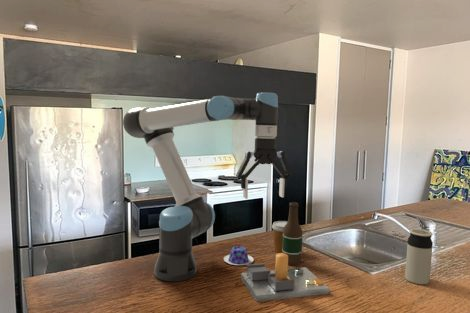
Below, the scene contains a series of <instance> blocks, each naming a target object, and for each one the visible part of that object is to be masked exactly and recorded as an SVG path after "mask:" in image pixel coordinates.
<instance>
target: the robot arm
mask: <svg viewBox="0 0 470 313" xmlns="http://www.w3.org/2000/svg"><path fill="white" fill-rule="evenodd" d="M278 98H279V96H278V95H277V93H274V92H257V93H256V97H255V98H242V97H241V98H239V97H233V96H232V97H231V96H226V95H216V96H215V95H214V96H212V98H206V99H201V100H195V101H191V102H189V101H188V102H184V103H183V102H182V103H179V104H178V103H177V104H173V105H166V106H162V107H153V108H150V107H148V106H144V107H134V108H131V109H129V110H128V111H127V112H126V113H125V114H124V115H123V119H122V125H123V128H124V130H125V132H126V133H127V134H128V135H129V136H131V137H133V138H136V139H144V142H145V144H146V146H147V147H150V148H151V149H152V150H153V152H154V154H155V157H156V159H157V161H158V163H159V166H160V168H161V170H162V173H163V175H164V178H165V180H166V182H167V185H168V186H169V189H170V192H171V194H172V196H173V198H174V200H175V205H174V206H170V207H167V208H165V209H163V210H162V211H161V212H160V214H159V220H158V227H159V228H158V229H159V231H158V232H159V236H158V237H159V238H158V239H159V242H158V243H159V244H158V246H159V248H158V249H159V252H158V255H157V259H156V261H155V265H154V268H153V274H154V275H153V276H154V277H155V278H157V279H158V280H161V281H165V282H182V281H186V280H189V279H192V278H194V277H195V276H196V274H197V264H196V260H195V258H194V254H193V239H195V238H196V237H199V236H200V235H201V234H204V233H206V232H207V231H209V230H210V229H211V228H212V227H213V225H214V223H215V219H216V214H215V213H216V212H215V210H214V207H213V206H212V204H210V203H208V202H206V201H205V200H204V198H203V196H202V195H201V194H198V193H197V191H196V190H195V188H194V186H193V183H192V180H191V178H190V175H189V173H188V171H187V169H186V167H185V164H184V162H183V160H182V158H181V155H180V154H179V151H178V149H177V146H176V145H175V142H174V140H173V139H174V137H175V133H174V129H175V128H177V127H183V126H190V125H195V124H196V125H197V124H203V123H211V122H217V121H219V122H220V121H225V120H230V121H231V120H232V121H233V120H234V121H236V120H239V121H241V120H242V121H244V120H245V121H251V120H252V121H255V127H254V133H255V134H254V136H255V139H254V151H249V150H246V151H245V154H244V158H243V160H242V162H241V164H240V166H239V168H238V170H237V172H236V175H235V177H236V178H238V179H240V188H241V189H242V190H243V193H242V194H243V198H244V199H246V200H247V199H248V194H249V193H248V192H249V180H248V179H247V178H248V177H249V176H250V175H251V174H252V173H253V171H254V170H255V169H256V168H257V166H259V165H272V166H273V168H274V169H275V171H277V173H278V174H279V175H280V178H279V184H278V185H279V190H278V195H279V197H281V198H284V197H285V189H286V188H287V186H288V185H287V184H288V180H289V178H292V177H293V173H292V172H291V169H290V167H289V165H288V162H287V159H286V154H285V151H282V150H279V151H277V135H278V132H277V131H278V113H279V111H278V110H279V99H278ZM253 157H254V160H252V162H251V164H249V162H250V160H251V158H253ZM276 157H278V159H279V161H280V163H281V165H282V168H283V169H282V168H281V166H280V165H279V163H278V162H277V161H276ZM248 164H249V166H248ZM247 166H248V168H247ZM246 168H247V169H246Z"/></svg>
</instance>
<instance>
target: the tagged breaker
mask: <svg viewBox="0 0 470 313" xmlns="http://www.w3.org/2000/svg"><path fill="white" fill-rule="evenodd" d="M268 282H269V284H270V285H271V286H272V287H273V289H274V290H275V291H277V290H287V289H294V279H291V278H290V277H289V276H288V275H287V280H282V281H277V280H275V273H270V274H268Z"/></svg>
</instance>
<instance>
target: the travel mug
mask: <svg viewBox="0 0 470 313" xmlns="http://www.w3.org/2000/svg"><path fill="white" fill-rule="evenodd" d="M433 234H434V233H433V232H432V231H430V230H427V229H422V228H410V229H409V237H408V238H407V244H406V245H407V246H406V257H405V270H404V271H405V272H404V279H405V280H406V281H408V282H410V283H412V284H416V285H427V284H429V283H430V277H431V268H432V267H431V266H432V258H433V257H432V255H433V245H434V244H433V243H434V242H433V241H432V236H434V235H433Z"/></svg>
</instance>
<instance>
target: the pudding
mask: <svg viewBox="0 0 470 313" xmlns="http://www.w3.org/2000/svg"><path fill="white" fill-rule="evenodd" d="M223 261H224V262H226V263H227V264H229V265H234V266H247V265H251V264H252V263H253V262H254V261H255V260H254V257H253V256H251V255H249V254H248V252H247V249H246V247H244V246H243V245H236V246H233V247H231V249H230V253H229V254H227V255H225V256H224V257H223Z"/></svg>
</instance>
